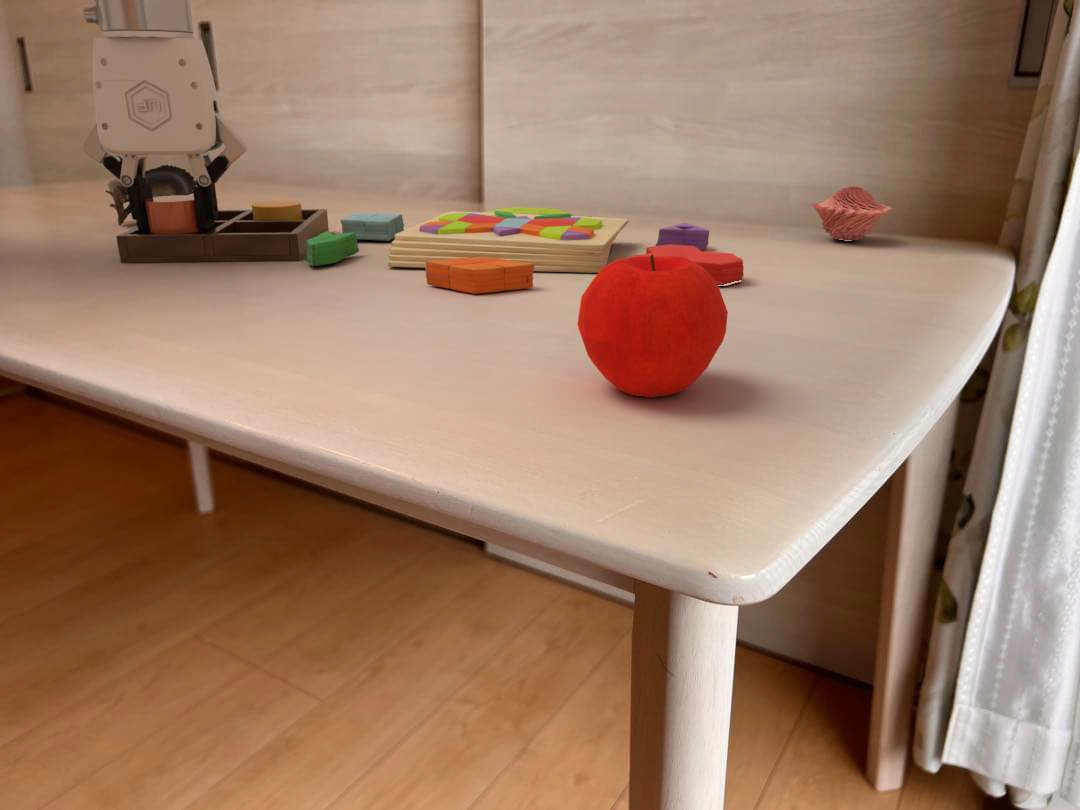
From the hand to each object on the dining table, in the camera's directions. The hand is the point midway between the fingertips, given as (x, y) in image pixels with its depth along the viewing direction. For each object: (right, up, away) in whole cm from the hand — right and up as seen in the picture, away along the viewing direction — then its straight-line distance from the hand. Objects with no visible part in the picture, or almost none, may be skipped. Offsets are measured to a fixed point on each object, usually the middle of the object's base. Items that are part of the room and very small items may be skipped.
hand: (177, 225), depth 83 cm
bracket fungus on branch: (-11, +4, +20) cm, 23 cm away
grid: (+4, -1, +5) cm, 6 cm away
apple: (+41, -17, -36) cm, 57 cm away
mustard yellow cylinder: (+7, +1, +8) cm, 11 cm away
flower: (+67, 0, +7) cm, 68 cm away
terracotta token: (0, 0, 0) cm, 0 cm away
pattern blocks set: (+33, -3, +1) cm, 33 cm away
